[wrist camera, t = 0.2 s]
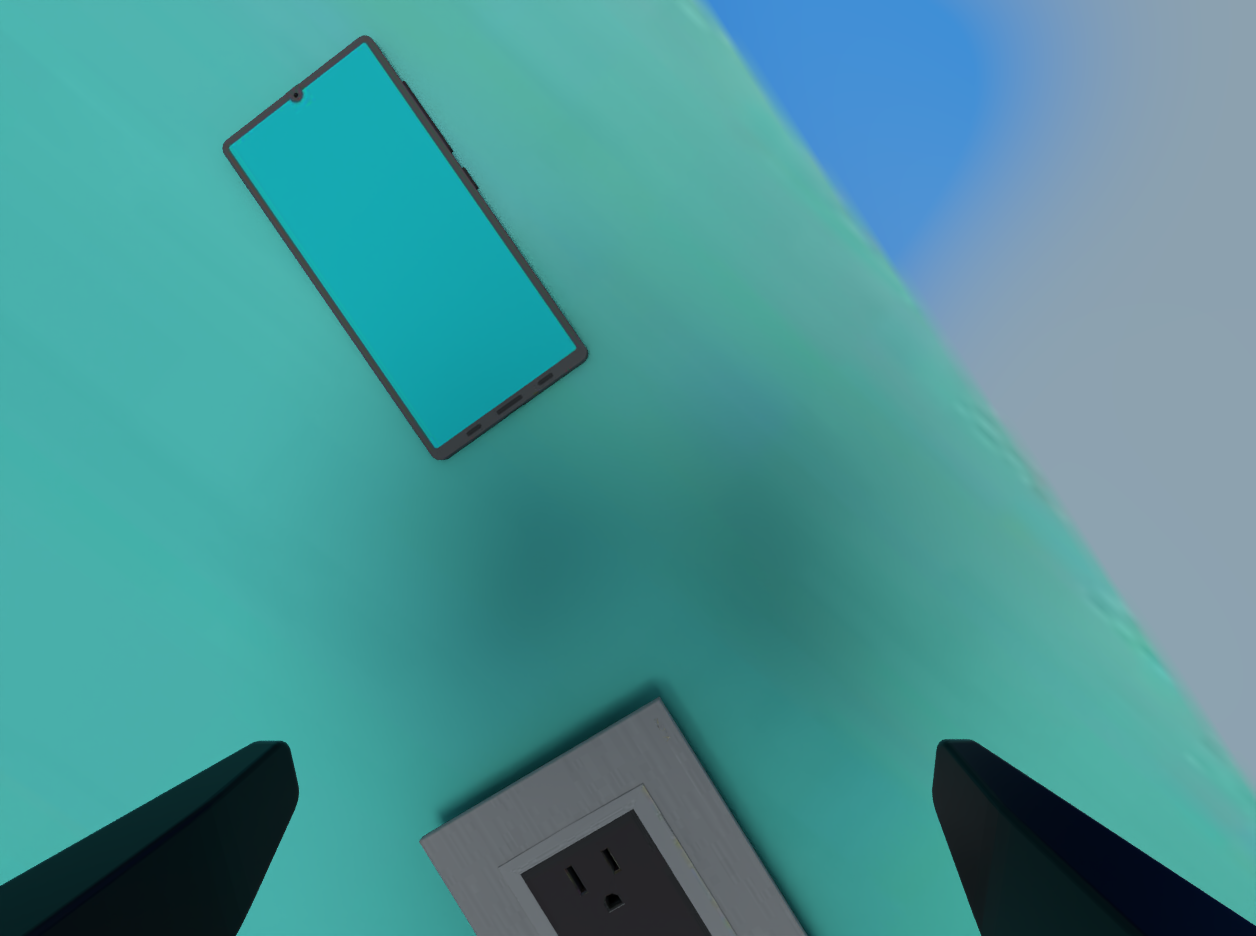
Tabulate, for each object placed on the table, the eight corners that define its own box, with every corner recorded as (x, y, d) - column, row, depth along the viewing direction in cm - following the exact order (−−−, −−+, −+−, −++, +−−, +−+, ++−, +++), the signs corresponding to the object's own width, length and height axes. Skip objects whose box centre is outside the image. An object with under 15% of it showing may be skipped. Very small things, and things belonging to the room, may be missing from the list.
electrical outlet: (836, 963, 24) (855, 1019, 22) (610, 1086, 25) (604, 1153, 23) (659, 678, 24) (658, 703, 22) (439, 809, 25) (415, 846, 23)
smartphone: (436, 463, 24) (218, 145, 24) (444, 463, 25) (233, 156, 25) (592, 353, 23) (368, 29, 24) (595, 356, 24) (378, 43, 24)
